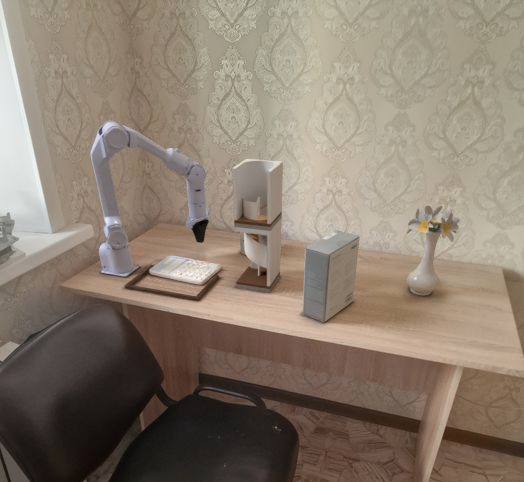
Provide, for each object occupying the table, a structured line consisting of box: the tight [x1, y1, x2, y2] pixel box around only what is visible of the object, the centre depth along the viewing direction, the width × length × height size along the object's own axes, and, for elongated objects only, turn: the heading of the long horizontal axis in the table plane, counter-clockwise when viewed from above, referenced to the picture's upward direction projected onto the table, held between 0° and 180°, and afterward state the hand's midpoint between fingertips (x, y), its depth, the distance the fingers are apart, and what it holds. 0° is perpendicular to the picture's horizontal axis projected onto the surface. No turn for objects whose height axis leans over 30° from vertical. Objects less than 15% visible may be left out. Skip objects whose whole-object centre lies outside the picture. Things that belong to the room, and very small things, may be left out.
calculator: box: [148, 255, 222, 286], centre depth 150 cm, size 13×20×2 cm, turn 66°
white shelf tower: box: [231, 158, 284, 293], centre depth 135 cm, size 11×11×35 cm
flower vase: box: [406, 205, 461, 297], centre depth 133 cm, size 13×18×25 cm
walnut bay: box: [123, 264, 221, 302], centre depth 144 cm, size 25×16×1 cm, turn 71°
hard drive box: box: [302, 229, 360, 323], centre depth 126 cm, size 16×8×20 cm, turn 141°
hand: (200, 241), depth 157 cm, fingers closed
